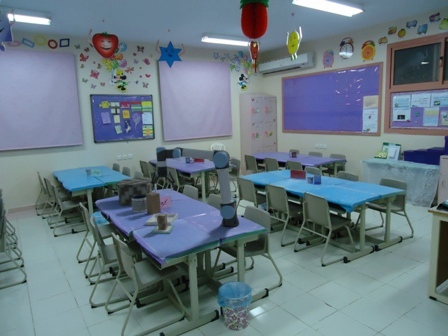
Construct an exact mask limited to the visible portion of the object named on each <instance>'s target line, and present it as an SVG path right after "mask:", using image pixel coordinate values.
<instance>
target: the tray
mask: <svg viewBox="0 0 448 336" xmlns="http://www.w3.org/2000/svg"><path fill="white" fill-rule="evenodd" d="M159 214H160V213H156V214H152V215H151V216H150V218H149V219H147V220H146V221H145V225H146V226H158V222H157V216H158V215H159ZM166 214H167V225H168V226H173V224H174V223H175V221H176V220H177V219H178V217H179V213H166Z"/></svg>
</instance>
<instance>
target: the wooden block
mask: <svg viewBox="0 0 448 336" xmlns="http://www.w3.org/2000/svg"><path fill="white" fill-rule="evenodd" d="M146 203H147V211H146V213H147V214H149V215H154V214H162V213H161V208H162V207H161V197H160V192H157V191H156V192H155V191H152V193H147V194H146Z"/></svg>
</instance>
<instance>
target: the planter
mask: <svg viewBox="0 0 448 336" xmlns="http://www.w3.org/2000/svg"><path fill="white" fill-rule="evenodd" d="M131 199H132V206H131V208H132V212H133V213H136V214H137V213H145V212H146V213H147V203H146V195H136V196H133V197H132V198H131Z"/></svg>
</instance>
